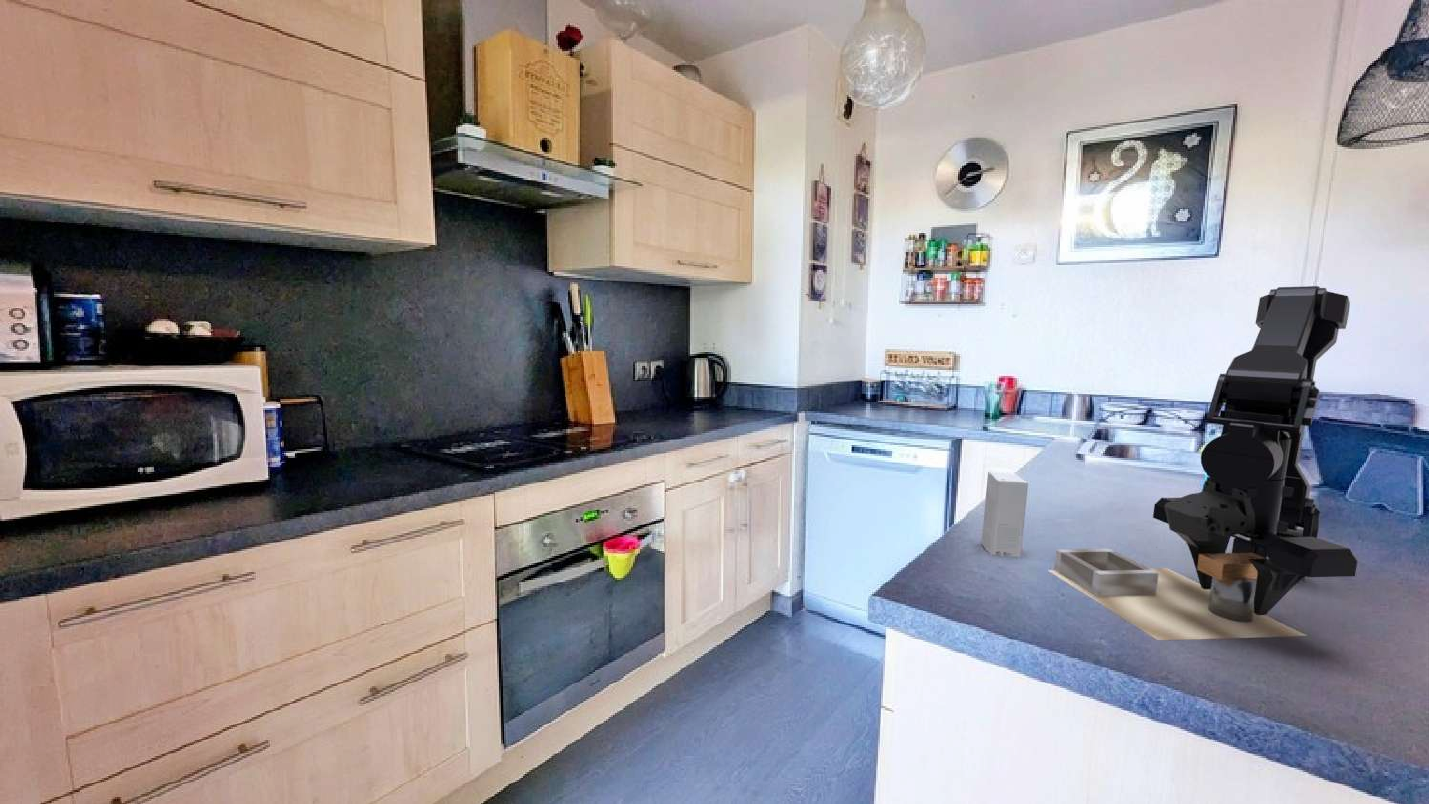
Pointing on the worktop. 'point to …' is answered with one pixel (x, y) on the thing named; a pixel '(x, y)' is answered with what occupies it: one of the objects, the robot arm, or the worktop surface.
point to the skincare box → (1004, 514)
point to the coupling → (1231, 584)
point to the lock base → (1155, 598)
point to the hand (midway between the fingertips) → (1231, 601)
